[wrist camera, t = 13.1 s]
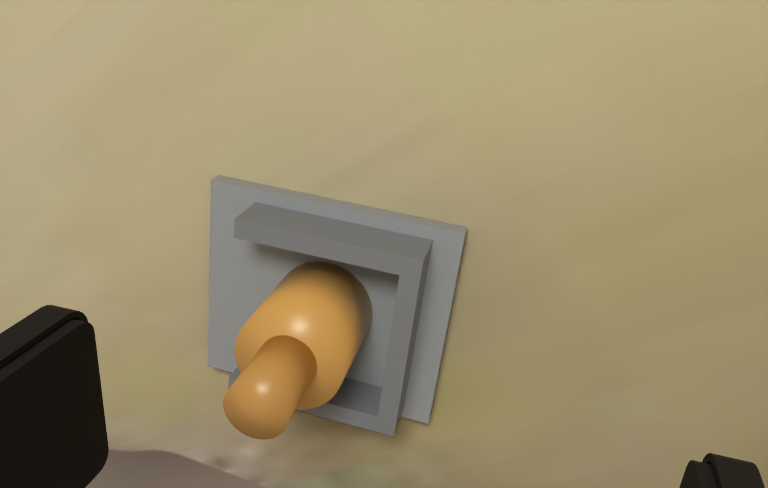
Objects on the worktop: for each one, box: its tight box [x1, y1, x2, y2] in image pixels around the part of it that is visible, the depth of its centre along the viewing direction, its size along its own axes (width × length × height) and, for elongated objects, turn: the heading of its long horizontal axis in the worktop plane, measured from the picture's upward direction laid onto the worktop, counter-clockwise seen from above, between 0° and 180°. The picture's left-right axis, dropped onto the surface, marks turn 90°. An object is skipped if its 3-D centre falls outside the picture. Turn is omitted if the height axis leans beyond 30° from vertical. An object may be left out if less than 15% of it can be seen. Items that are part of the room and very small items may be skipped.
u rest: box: [208, 176, 467, 436], centre depth 42 cm, size 16×14×4 cm
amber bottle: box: [223, 262, 373, 439], centre depth 38 cm, size 6×6×11 cm
